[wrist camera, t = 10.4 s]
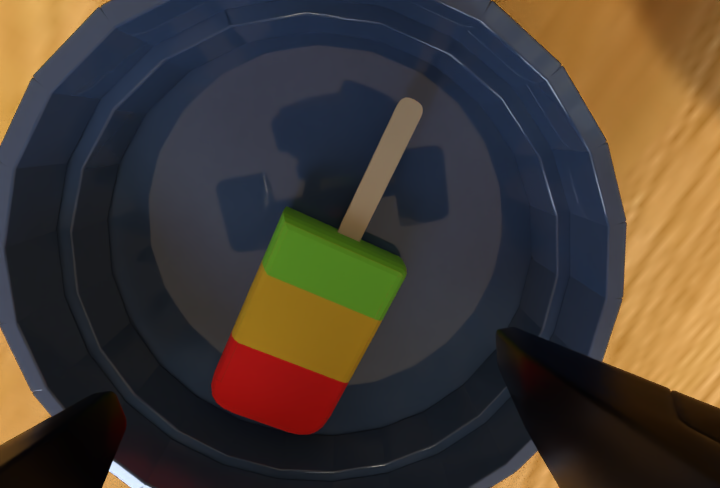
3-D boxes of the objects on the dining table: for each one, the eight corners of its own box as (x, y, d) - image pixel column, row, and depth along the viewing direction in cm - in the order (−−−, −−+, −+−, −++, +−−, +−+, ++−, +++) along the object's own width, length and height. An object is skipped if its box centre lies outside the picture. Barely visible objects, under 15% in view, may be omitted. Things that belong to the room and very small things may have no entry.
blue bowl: (550, 409, 20) (614, 496, 15) (172, 468, 20) (118, 573, 15) (543, -36, 14) (644, -120, 9) (13, 54, 14) (-153, 15, 10)
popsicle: (212, 379, 18) (197, 407, 16) (346, 68, 14) (346, 59, 13) (319, 417, 19) (317, 448, 17) (470, 133, 15) (487, 133, 13)
